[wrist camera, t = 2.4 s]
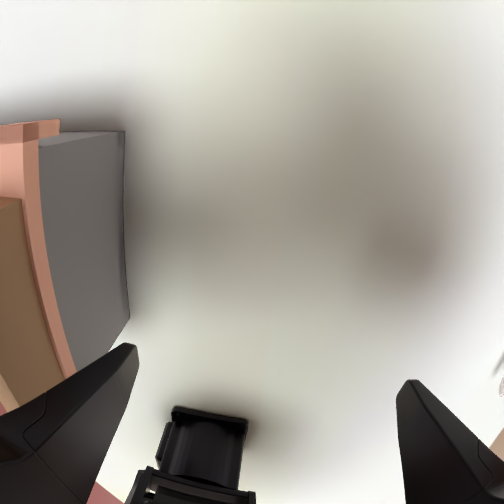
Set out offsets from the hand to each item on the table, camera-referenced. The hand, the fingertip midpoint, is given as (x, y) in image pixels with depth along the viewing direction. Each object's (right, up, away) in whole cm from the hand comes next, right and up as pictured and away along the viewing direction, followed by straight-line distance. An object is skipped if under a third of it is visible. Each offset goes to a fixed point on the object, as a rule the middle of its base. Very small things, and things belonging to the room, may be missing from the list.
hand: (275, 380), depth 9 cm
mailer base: (-16, +6, +8) cm, 19 cm away
